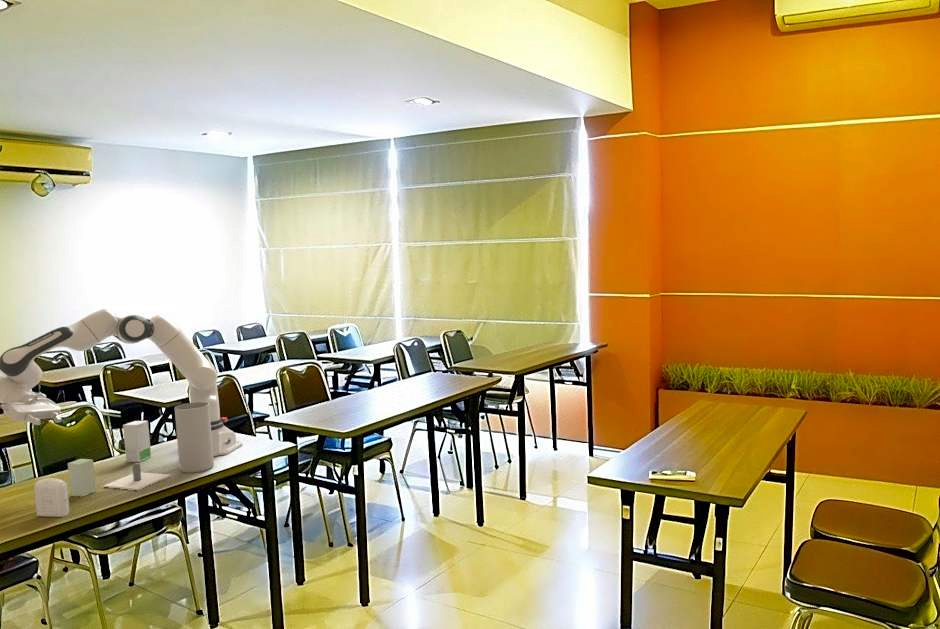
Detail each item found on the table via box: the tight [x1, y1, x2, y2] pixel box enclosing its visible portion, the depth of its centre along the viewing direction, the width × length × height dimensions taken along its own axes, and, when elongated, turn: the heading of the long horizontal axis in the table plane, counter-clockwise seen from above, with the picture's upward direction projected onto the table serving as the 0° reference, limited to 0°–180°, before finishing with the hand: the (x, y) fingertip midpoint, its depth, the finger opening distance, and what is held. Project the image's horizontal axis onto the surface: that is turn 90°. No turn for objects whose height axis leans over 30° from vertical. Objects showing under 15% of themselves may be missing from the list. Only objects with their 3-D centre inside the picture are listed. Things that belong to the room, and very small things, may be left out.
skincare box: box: [122, 420, 152, 463], centre depth 299 cm, size 8×7×16 cm
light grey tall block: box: [67, 458, 97, 498], centre depth 259 cm, size 6×6×12 cm
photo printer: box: [34, 477, 70, 518], centre depth 238 cm, size 10×4×12 cm, turn 81°
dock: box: [103, 462, 171, 492], centre depth 270 cm, size 16×16×7 cm
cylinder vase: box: [174, 402, 215, 474], centre depth 283 cm, size 12×12×25 cm
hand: (49, 422), depth 260 cm, fingers open, 8 cm apart
